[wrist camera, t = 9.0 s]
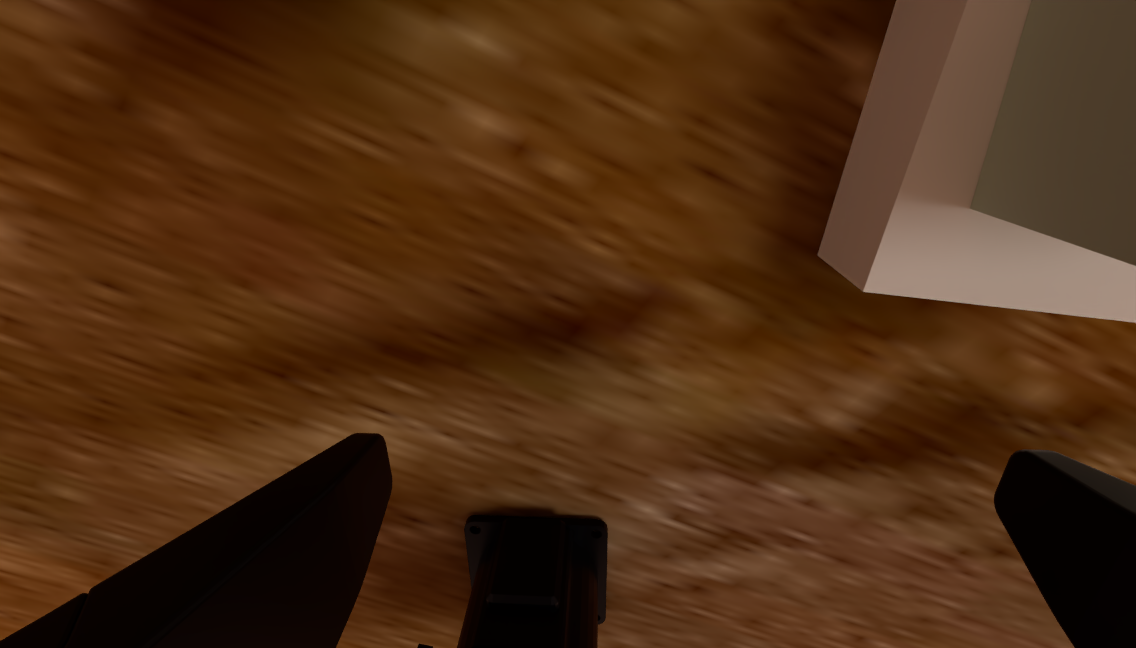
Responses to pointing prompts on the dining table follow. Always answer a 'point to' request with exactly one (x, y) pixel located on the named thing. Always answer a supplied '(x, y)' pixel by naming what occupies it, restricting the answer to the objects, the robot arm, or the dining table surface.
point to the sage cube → (1069, 129)
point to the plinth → (952, 178)
